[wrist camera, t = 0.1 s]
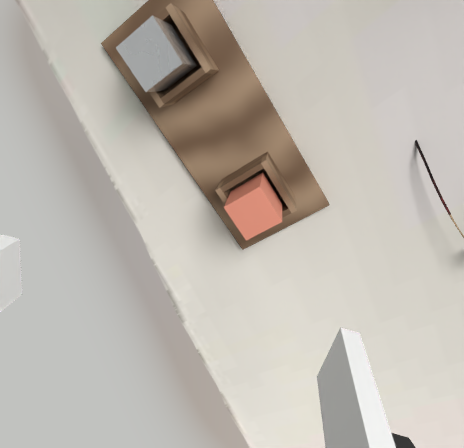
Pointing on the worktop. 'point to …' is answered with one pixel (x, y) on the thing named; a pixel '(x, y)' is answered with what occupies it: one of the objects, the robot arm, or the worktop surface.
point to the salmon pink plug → (254, 207)
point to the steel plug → (156, 55)
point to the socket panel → (221, 115)
